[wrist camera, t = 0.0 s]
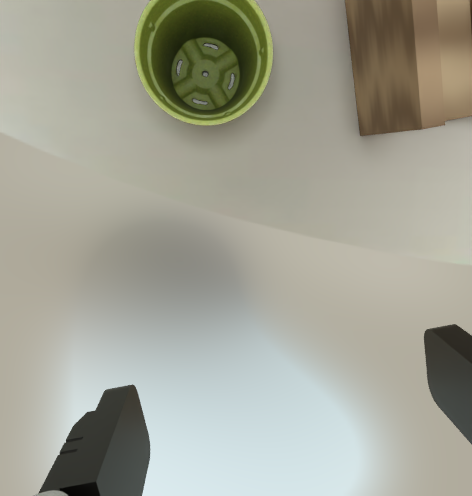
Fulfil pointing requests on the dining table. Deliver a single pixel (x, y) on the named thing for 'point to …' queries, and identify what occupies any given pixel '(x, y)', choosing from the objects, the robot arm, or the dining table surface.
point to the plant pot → (203, 57)
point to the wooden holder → (410, 62)
